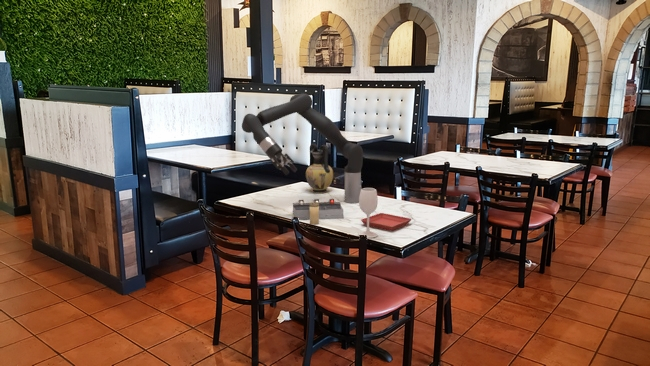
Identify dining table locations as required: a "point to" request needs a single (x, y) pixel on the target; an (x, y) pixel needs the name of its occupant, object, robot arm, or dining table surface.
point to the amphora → (319, 169)
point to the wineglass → (368, 207)
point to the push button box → (325, 210)
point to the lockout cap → (314, 213)
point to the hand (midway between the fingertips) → (292, 172)
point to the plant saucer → (386, 221)
